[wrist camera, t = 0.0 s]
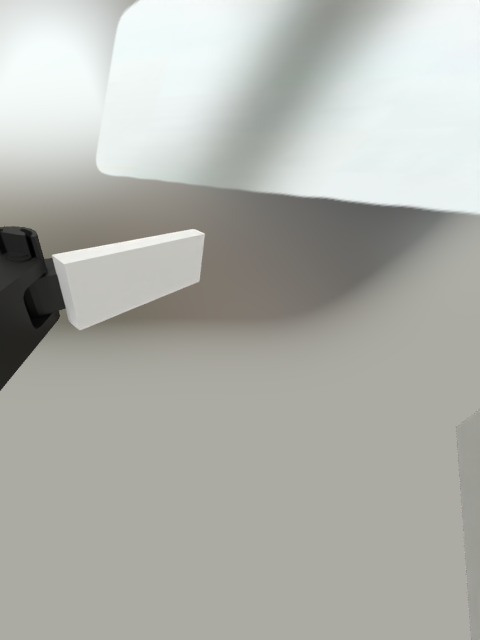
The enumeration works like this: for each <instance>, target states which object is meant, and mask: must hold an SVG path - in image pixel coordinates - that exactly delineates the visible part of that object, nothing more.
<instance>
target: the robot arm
mask: <svg viewBox="0 0 480 640" xmlns="http://www.w3.org/2000/svg"><path fill="white" fill-rule="evenodd" d="M204 238H205V234H204V233H202V232H200V231H198V230H195V229H190V230H185V231H180V232H174V233H168V234H163V235H158V236H152V237H147V238H141V239H137V240H131V241H125V242H120V243H115V244H109V245H103V246H98V247H93V248H87V249H81V250H77V251H71V252H65V253H60V254H54V255H52V258H50V259H44V257H43V253H42V250H41V246H40V243H39V239H38V235H37V233H36V231H34V230H32V229H29V228H25V227H0V390H1V389H2V388H3V387H4V386H5V384H6V383H7V381H9V379H10V378H11V377H12V376H13V374H14V373H15V372H16V371H17V370H18V368H19V367H20V366H21V365H22V364H23V362H24V361H25V360H26V359H27V357H28V356H29V355H30V354H31V352H32V351H33V350H34V349H35V348H36V346H37V345H38V344H39V343H40V341H41V340H42V339H43V338H44V337H45V335H46V334H47V333H48V331H49V330H50V329H51V328H52V327H53V326H54V324H55V323H56V322H57V321H58V319H59V317H60V314H59V310H62V309H66V312H67V316H68V320H69V322H70V323H72V324H73V325H74V326H75V327H76V328H77V329H78V330H82V329H85V328H87V327H89V326H92V325H94V324H97V323H99V322H102V321H104V320H107V319H109V318H111V317H114V316H116V315H119V314H121V313H124V312H126V311H128V310H131V309H133V308H136V307H138V306H141V305H143V304H146V303H148V302H150V301H153V300H155V299H158V298H160V297H163V296H165V295H168V294H170V293H173V292H175V291H178V290H180V289H182V288H185V287H187V286H190V285H192V284H195V283H197V282H199V281H200V272H201V264H202V255H203V246H204ZM456 434H457V448H458V462H459V476H460V489H461V503H462V518H463V531H464V547H465V560H466V573H467V574H466V575H467V589H468V601H469V615H470V616H469V617H470V631H471V640H480V409H479V410H478V411H476V412H475V413H474V414H473V415H471V416H470V417H469V418H467V419H466V420H465V421H463V422H462V423H461V424H460V425H458V426H457V427H456Z"/></svg>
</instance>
